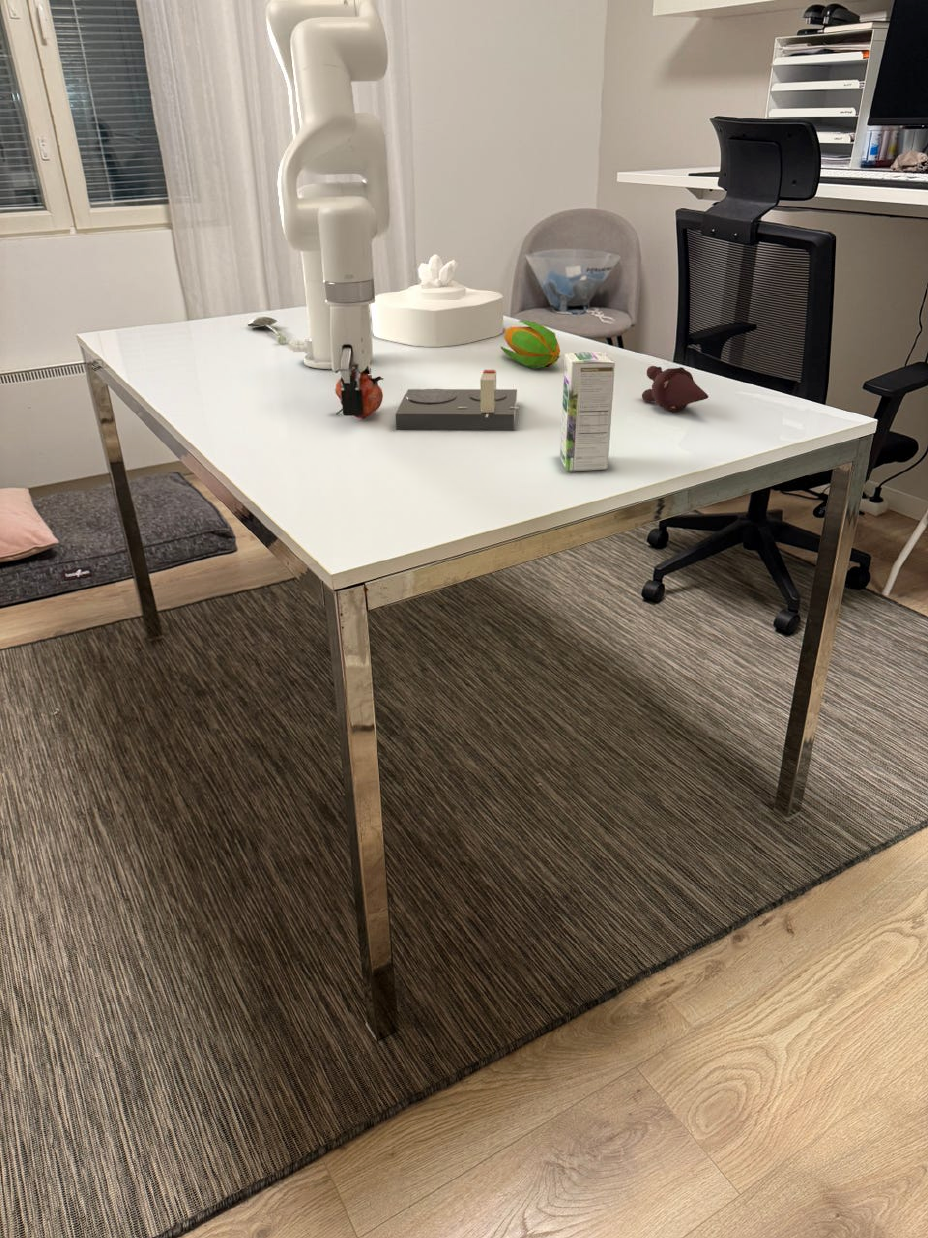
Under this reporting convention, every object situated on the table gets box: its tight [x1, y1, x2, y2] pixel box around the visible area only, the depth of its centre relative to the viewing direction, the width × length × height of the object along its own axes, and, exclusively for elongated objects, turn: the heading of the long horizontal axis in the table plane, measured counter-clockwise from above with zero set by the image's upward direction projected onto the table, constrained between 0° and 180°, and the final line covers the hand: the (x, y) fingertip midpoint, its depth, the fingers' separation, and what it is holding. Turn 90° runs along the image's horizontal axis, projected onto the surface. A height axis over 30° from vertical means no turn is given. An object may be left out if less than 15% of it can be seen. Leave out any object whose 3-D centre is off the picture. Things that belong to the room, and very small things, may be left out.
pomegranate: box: [334, 373, 384, 419], centre depth 146 cm, size 7×7×10 cm
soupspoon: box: [247, 316, 287, 345], centre depth 203 cm, size 22×3×7 cm
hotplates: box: [407, 388, 507, 404], centre depth 147 cm, size 16×8×1 cm, turn 85°
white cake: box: [370, 253, 504, 348], centre depth 198 cm, size 25×25×16 cm
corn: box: [500, 319, 561, 370], centre depth 175 cm, size 7×8×20 cm
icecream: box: [641, 365, 709, 413], centre depth 145 cm, size 7×7×15 cm
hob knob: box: [479, 369, 497, 413], centre depth 140 cm, size 5×2×5 cm, turn 174°
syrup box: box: [559, 351, 616, 472], centre depth 122 cm, size 6×6×14 cm
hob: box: [395, 388, 520, 431], centre depth 145 cm, size 19×16×3 cm
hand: (358, 406), depth 147 cm, fingers open, 8 cm apart
